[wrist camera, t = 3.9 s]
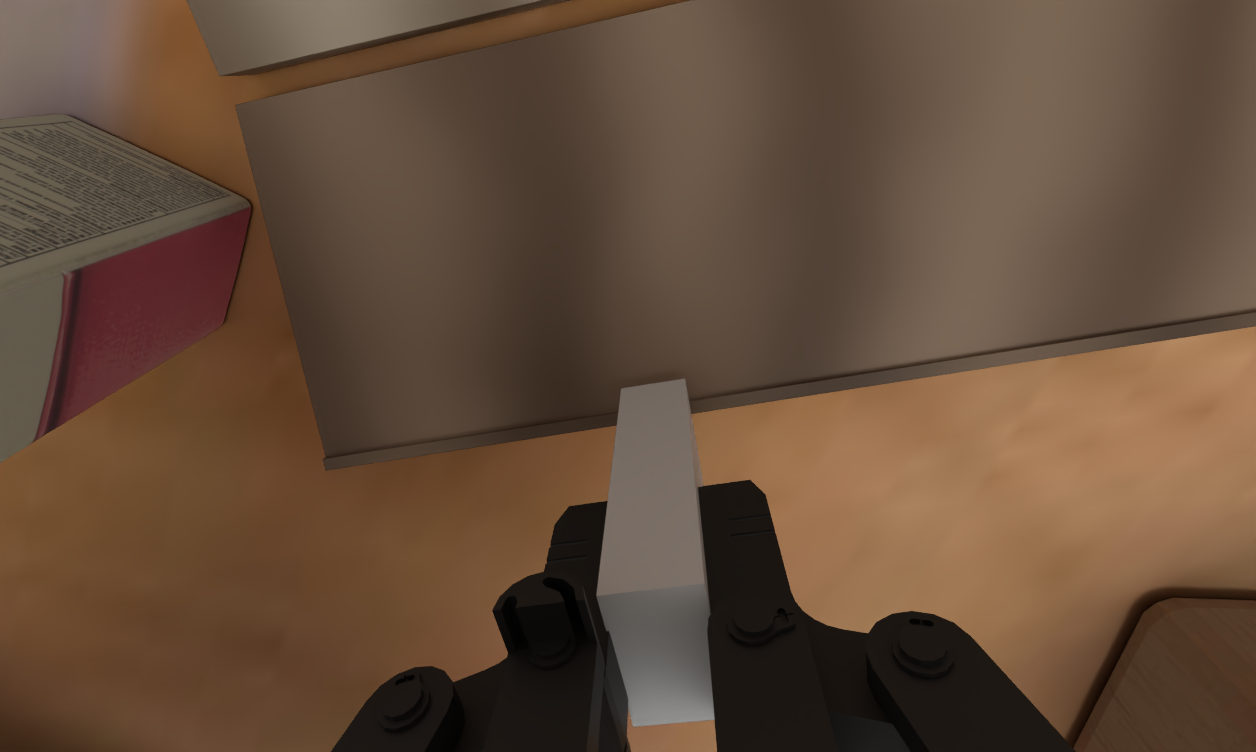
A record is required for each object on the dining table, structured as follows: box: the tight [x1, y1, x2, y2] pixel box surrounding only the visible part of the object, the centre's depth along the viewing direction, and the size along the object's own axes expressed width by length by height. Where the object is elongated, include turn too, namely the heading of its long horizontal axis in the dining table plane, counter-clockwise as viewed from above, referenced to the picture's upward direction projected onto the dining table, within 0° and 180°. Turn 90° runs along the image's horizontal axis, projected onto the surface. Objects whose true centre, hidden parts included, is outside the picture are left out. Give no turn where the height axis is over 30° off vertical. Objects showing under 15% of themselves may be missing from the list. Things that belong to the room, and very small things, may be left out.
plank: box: [235, 0, 1256, 470], centre depth 15 cm, size 25×9×1 cm, turn 101°
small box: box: [0, 114, 251, 463], centre depth 14 cm, size 5×4×8 cm
